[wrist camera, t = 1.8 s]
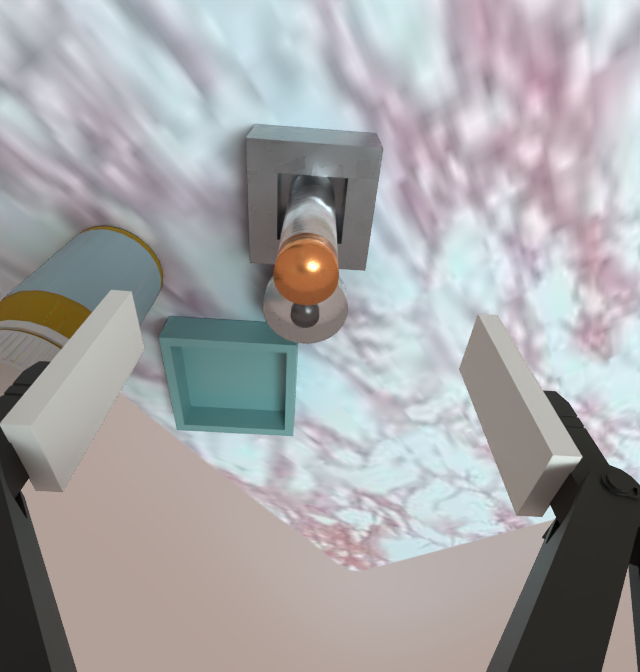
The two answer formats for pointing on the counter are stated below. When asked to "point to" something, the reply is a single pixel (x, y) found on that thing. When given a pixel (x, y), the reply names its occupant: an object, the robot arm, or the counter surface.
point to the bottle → (73, 295)
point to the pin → (308, 243)
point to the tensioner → (271, 203)
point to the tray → (229, 376)
